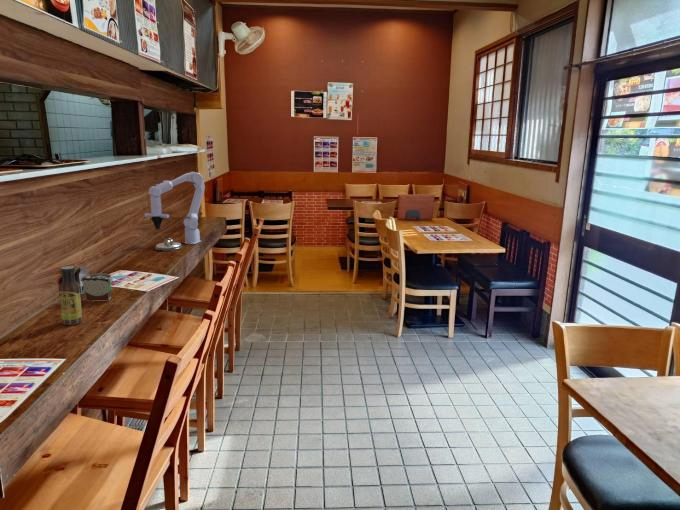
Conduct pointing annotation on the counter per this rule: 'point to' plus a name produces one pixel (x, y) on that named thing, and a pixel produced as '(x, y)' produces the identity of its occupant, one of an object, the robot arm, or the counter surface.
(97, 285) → the food container
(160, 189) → the robot arm
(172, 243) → the lid
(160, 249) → the turntable base
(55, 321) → the counter surface
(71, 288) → the sauce bottle
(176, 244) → the turntable
